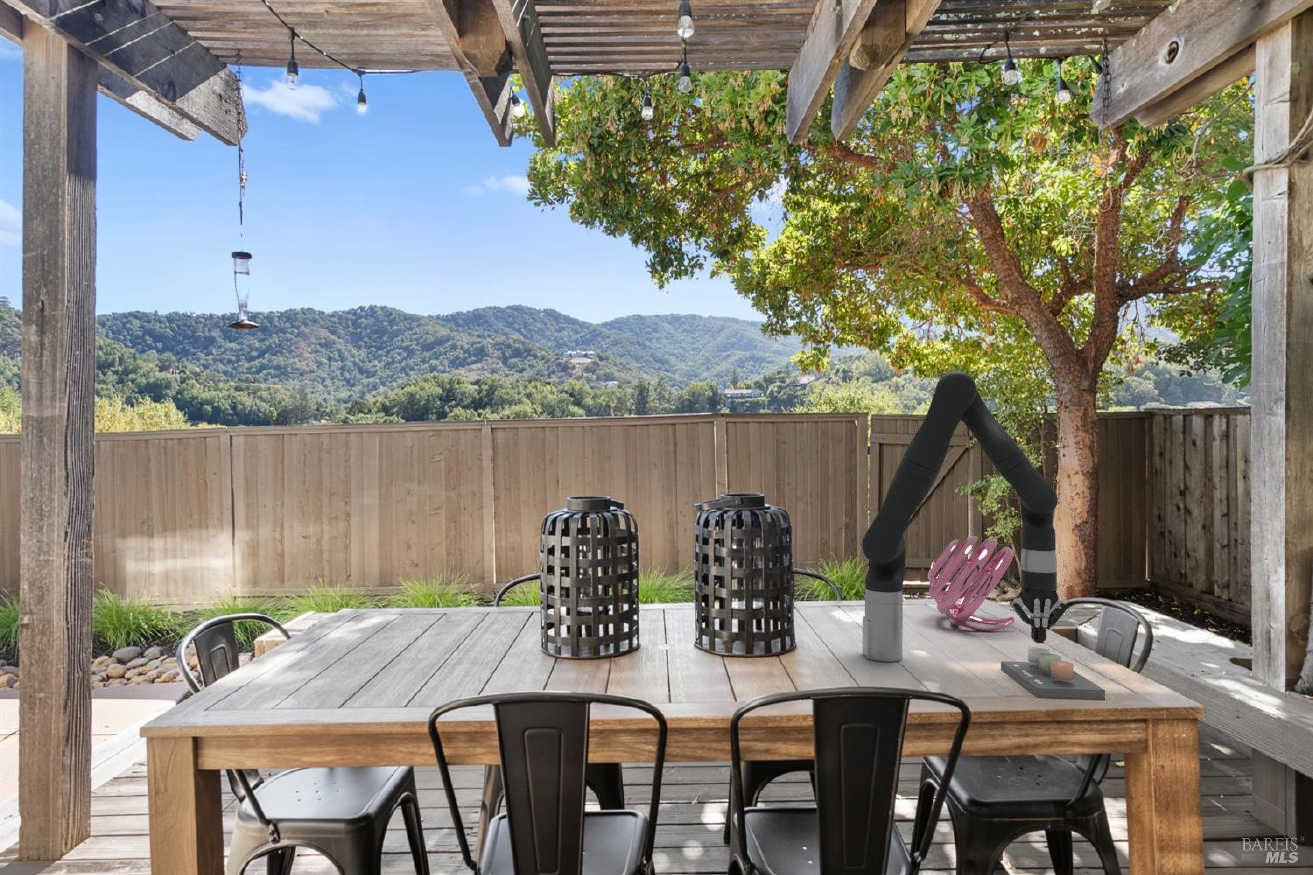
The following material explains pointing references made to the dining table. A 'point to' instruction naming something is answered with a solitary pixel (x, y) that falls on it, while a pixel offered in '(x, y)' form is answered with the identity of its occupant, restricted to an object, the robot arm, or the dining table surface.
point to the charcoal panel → (1051, 682)
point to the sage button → (1047, 660)
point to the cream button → (1035, 653)
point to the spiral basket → (968, 581)
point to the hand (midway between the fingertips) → (1038, 642)
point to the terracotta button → (1062, 670)
